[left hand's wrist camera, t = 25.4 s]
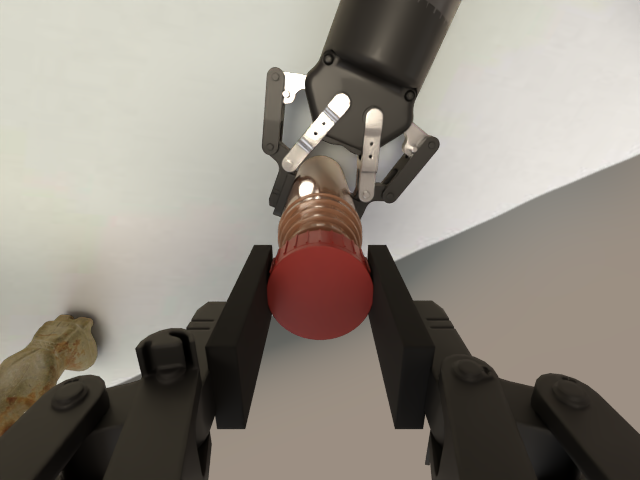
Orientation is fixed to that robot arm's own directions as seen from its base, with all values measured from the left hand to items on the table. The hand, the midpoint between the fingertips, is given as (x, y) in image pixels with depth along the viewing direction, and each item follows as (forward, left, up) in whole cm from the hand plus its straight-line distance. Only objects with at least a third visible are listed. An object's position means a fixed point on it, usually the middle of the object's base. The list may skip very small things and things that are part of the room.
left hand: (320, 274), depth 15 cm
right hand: (-2, -2, -14) cm, 14 cm away
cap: (0, 0, +2) cm, 2 cm away
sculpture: (-34, -3, -21) cm, 40 cm away
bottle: (0, 0, -21) cm, 21 cm away
